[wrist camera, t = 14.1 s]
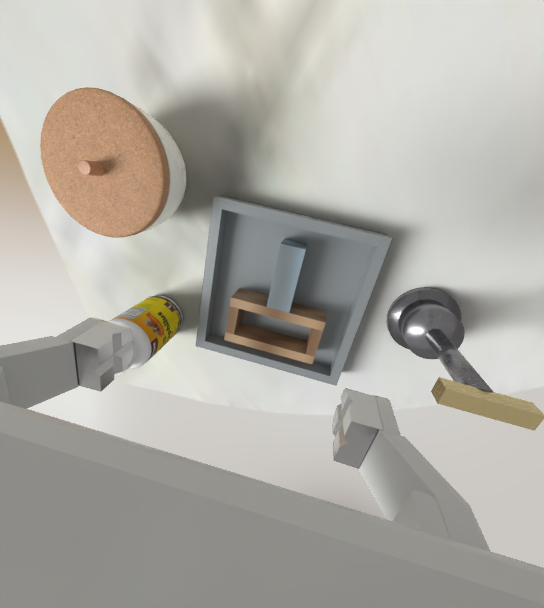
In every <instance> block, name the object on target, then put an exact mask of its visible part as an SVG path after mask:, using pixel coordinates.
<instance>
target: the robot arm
mask: <svg viewBox="0 0 544 608" xmlns="http://www.w3.org/2000/svg"><path fill="white" fill-rule="evenodd" d="M132 339H133V331H132V330H131V329H130V328H128V327H124V326H121V325H118V324H114V323H111V322H108V321H104V320H101V319H97V318H89V319H87V320H85V321H83V322H81V323H80V324H78V325H76V326H74V327H73V328H71V329H69V330H67V331H66V332H64V333H62V334H60V335H58V336H57V337H52V336H50V337H44V338H39V339H34V340H29V341H23V342H19V343H13V344H8V345H2V346H0V608H544V568H542V567H539V566H535V565H532V564H529V563H525V562H523V561H519V560H516V559H513V558H510V557H506V556H503V555H500V554H496V553H493V552H491V551H490V549H489V547H488V545H487V543H486V540H485V538H484V536H483V534H482V531H481V529H480V527H479V525H478V523H477V520H476V518H475V516H474V514H473V512H472V509H471V507H470V505H469V504H468V503H467V502H466V501H465V500H464V499H463V498H462V497H461V496H460V495H459V494H458V493H457V492H456V490H455V489H454V488H453V487H452V486H451V485H450V484H449V483H448V482H447V481H446V480H445V479H444V478H443V477H442V476H441V475H440V473H438V471H437V470H436V469H435V468H434V467H433V466H432V465H431V464H430V463H429V462H428V461H427V460H426V459H425V458H424V457H423V455H422V454H421V453H420V452H419V451H418V450H417V449H416V448H415V447H414V446H413V445H412V444H411V443H410V442H409V441H408V440H407V439H406V438H405V437H403V436H401V435H400V432H399V429H398V426H397V423H396V419H395V416H394V413H393V410H392V406H391V403H390V401H389V400H388V399H387V398H383V397H379V396H374V395H373V396H372V395H369V394H365V393H361V392H358V391H354V390H350V389H347V388H345V390H344V391H343V393H342V396H341V403H342V404H340V405H338V406H337V408H336V411H335V414H334V418H333V434H334V435H335V440H334V442H333V454H334V461H337V462H340V463H343V464H346V465H349V466H352V467H355V468H358V469H359V471H360V473H361V475H362V477H363V479H364V480H365V482H366V484H367V485H368V487H369V489H370V491H371V493H372V494H373V496H374V498H375V499H376V501H377V503H378V505H379V507H380V508H381V510H382V512H383V514H384V515H385V517H386V519H387V520H386V519H383V518H380V517H376V516H373V515H370V514H366V513H363V512H360V511H357V510H353V509H350V508H347V507H344V506H341V505H337V504H334V503H331V502H327V501H324V500H321V499H318V498H314V497H311V496H308V495H305V494H301V493H298V492H295V491H291V490H288V489H285V488H282V487H279V486H275V485H272V484H269V483H266V482H262V481H259V480H256V479H253V478H250V477H246V476H243V475H240V474H237V473H233V472H230V471H227V470H224V469H220V468H217V467H214V466H210V465H208V464H204V463H201V462H198V461H194V460H191V459H188V458H185V457H181V456H178V455H175V454H172V453H168V452H165V451H162V450H159V449H155V448H152V447H149V446H146V445H142V444H139V443H136V442H132V441H129V440H126V439H123V438H120V437H116V436H113V435H109V434H107V433H103V432H100V431H96V430H93V429H90V428H87V427H84V426H81V425H77V424H74V423H71V422H68V421H64V420H61V419H58V418H54V417H51V416H48V415H44V414H42V413H38V412H35V411H32V410H28V409H27V408H29V407H32V406H34V405H36V404H39V403H41V402H43V401H46V400H48V399H50V398H53V397H55V396H57V395H60V394H62V393H65V392H67V391H69V390H72V389H74V388H76V387H78V386H82V387H86V388H90V389H94V390H97V391H102V390H103V389H104V388H105V387H107V386H108V385H109V384H110V383H111V382H112V381H113V380H114V374H117V373H120V372H123V371H124V370H125V369H126V368H127V367H128V365H129V363H130V361H131V360H132V356H133V347H132V346H131V344H130V343H129V342H130V341H131V340H132Z"/></svg>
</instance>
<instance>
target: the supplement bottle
mask: <svg viewBox="0 0 544 608" xmlns="http://www.w3.org/2000/svg"><path fill="white" fill-rule="evenodd" d="M109 322H111V323H114V324H118V325H121V326H124V327H128V328H130V329H131V330H132V331H133V339H132V340H131V341H130V342H129V343H130V344H131V346H132V347H133V356H132V360H131V361H130V363H129V365H128V367H127V368H126V369H125V370H124V371H126V370H127V369H134V368H138V367H140V366H142V365H144V364H145V363H146V362H147V361H148V360H149V359H150V358H151V357H152V356H153V355H155V354H156V353H157V352H158V351H159V350H160V349H161V348H162V347H163V346H164V345H165V344H166V343H167V342H168V341H169V340H170V339H171V338H172V337H173V336H174V335H175V334H176V333H177V332H178V331H179V330H180V329H181V326H182V323H183V317H182V313H181V310H180V308H179V307H178V306H177V304H176V303H175V302H174V301H172V300H171V299H169V298H167V297H164V296H152V297H149V298H147V299H145V300H144V301H142V302H140V303H139V304H137V305H135V306H134V307H132V308H130V309H129V310H127V311H125V312H124V313H122V314H120V315H119V316H117V317H115V318H114V319H112V320H110V321H109ZM124 371H123V372H124ZM123 372H120V373H117V374H114V375H119V374H122V373H123Z"/></svg>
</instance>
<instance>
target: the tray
mask: <svg viewBox="0 0 544 608" xmlns="http://www.w3.org/2000/svg"><path fill="white" fill-rule="evenodd" d="M284 239H289V240H293V241H297V242H301V243H305V244H307V248H306V252H305V255H304V259H303V263H302V267H301V271H300V275H299V278H298V282H297V286H296V290H295V294H294V297H293V301H292V302H293V303H297V304H301V305H305V306H309V307H312V308H316V309H320V310H324V311H326V324H325V327H324V330H323V333H322V336H321V339H320V342H319V345H318V348H317V351H316V354H315V357H314V361H313V364H309V363H305V362H301V361H298V360H294V359H291V358H287V357H284V356H280V355H276V354H273V353H269V352H266V351H262V350H258V349H255V348H251V347H248V346H244V345H241V344H237V343H233V342H230V341H226V340H224V337H225V331H226V325H227V319H228V313H229V307H230V300H231V297H232V296H233V295H234V293H235V292H236V291H237V290H238V289H239V288H240V289H244V290H248V291H252V292H255V293H259V294H263V295H267V296H269V293H270V289H271V284H272V280H273V275H274V271H275V266H276V262H277V257H278V253H279V248H280V244H281V242H282V241H283V240H284ZM391 241H392V238H391V237H389V236H388V235H386V234H382V233H377V232H373V231H369V230H365V229H361V228H356V227H352V226H348V225H344V224H340V223H335V222H331V221H327V220H323V219H319V218H314V217H310V216H306V215H302V214H298V213H293V212H289V211H285V210H281V209H276V208H272V207H268V206H264V205H260V204H255V203H251V202H247V201H243V200H239V199H234V198H230V197H226V196H213V202H212V211H211V219H210V228H209V237H208V245H207V254H206V262H205V271H204V280H203V288H202V297H201V305H200V314H199V323H198V331H197V340H196V346H198V347H201V348H205V349H209V350H212V351H216V352H219V353H223V354H226V355H230V356H233V357H237V358H240V359H244V360H247V361H251V362H255V363H258V364H262V365H265V366H269V367H272V368H276V369H279V370H283V371H286V372H290V373H293V374H297V375H301V376H304V377H308V378H311V379H315V380H318V381H322V382H325V383H329V384H332V385H337V382H338V380H339V377H340V375H341V372H342V369H343V367H344V364H345V361H346V359H347V356H348V353H349V351H350V348H351V346H352V343H353V340H354V338H355V335H356V332H357V330H358V327H359V325H360V322H361V319H362V317H363V314H364V311H365V309H366V306H367V304H368V301H369V298H370V296H371V293H372V290H373V288H374V285H375V283H376V280H377V277H378V275H379V272H380V269H381V267H382V264H383V262H384V259H385V256H386V254H387V251H388V248H389V246H390V243H391ZM242 323H244V324H248V325H252V326H255V327H259V328H263V329H266V330H270V331H274V332H277V333H281V334H284V335H288V336H292V337H295V338H299V339H303V340H306V341H307V339H308V336H309V333H310V330H311V328H309V327H306V326H302V325H298V324H294V323H291V322H287V321H283V320H280V319H276V318H272V317H268V316H265V315H261V314H257V313H254V312H250V311H246V310H244V312H243V317H242Z"/></svg>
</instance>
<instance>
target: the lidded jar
mask: <svg viewBox="0 0 544 608" xmlns="http://www.w3.org/2000/svg"><path fill="white" fill-rule="evenodd" d="M40 146H41V159H42V164H43V168H44V172H45V175H46V178H47V181H48V183H49V185H50V187H51V189H52V191H53V193H54V195H55V197H56V198H57V200H58V201H59V203H60V204H61V205H62V207H63V208H64V209H65V210H66V211H67V212H68V214H69V215H70V216H71V217H72V218H74V219H75V220H76V221H77V222H78V223H80V224H81V225H83V226H84V227H86V228H87V229H89V230H91V231H93V232H95V233H97V234H100V235H104V236H108V237H127V236H131V235H135V234H138V233H140V232H142V231H146V230H149V229H151V228H154V227H156V226H158V225H160V224H162V223H163V222H164V221H166V220H167V219H168V218H170V217H171V216H172V215H173V214H174V213H175V212H176V210H177V209H178V207H179V205H180V203H181V201H182V199H183V197H184V193H185V189H186V169H185V164H184V160H183V157H182V155H181V152H180V150H179V148H178V146H177V144H176V142H175V141H174V139H173V138H172V136H171V135H170V134H169V132H168V131H167V130H166V129H165V128H164V127H163V126H162V125H161V124H160V123H159V122H158V121H157V120H156V119H155V118H153V117H152V116H150V115H149V114H148V113H146V112H145V111H143V110H142V109H140V108H138V107H137V106H135V105H133V104H131V103H129V102H128V101H127V100H125V99H123V98H121V97H119V96H117V95H115V94H113V93H111V92H109V91H105V90H102V89H98V88H80V89H75V90H73V91H70V92H68V93H66V94H65V95H63V96H62V97H60V98H59V99H58V100H57V101H56V102H55V104H54V105H53V106H52V107H51V109H50V110H49V112H48V113H47V116H46V118H45V121H44V124H43V128H42V132H41V145H40Z"/></svg>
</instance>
